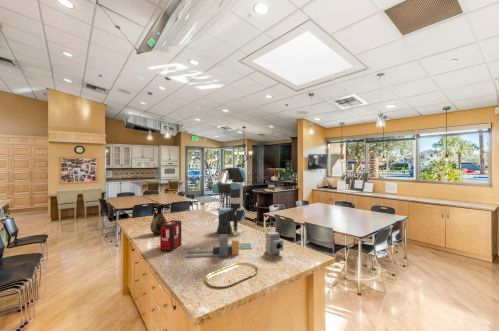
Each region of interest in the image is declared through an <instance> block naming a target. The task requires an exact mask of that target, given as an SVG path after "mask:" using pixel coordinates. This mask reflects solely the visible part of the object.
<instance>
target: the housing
mask: <svg viewBox="0 0 499 331" xmlns="http://www.w3.org/2000/svg"><path fill="white" fill-rule="evenodd" d="M228 236H229V234H219V240H218V241H219V243H218V247H219V254H213V249H204V250H201V249H200V250H199V249H198V250H195V249H194V250H188V251H187V254H186V255H185V258H208V257H209V258H210V257H212V258H213V257H219V258H220V259H227V258H229V257H228V256H229V254H228V244H229V237H228ZM203 253H204V254H203Z"/></svg>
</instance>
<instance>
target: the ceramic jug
mask: <svg viewBox="0 0 499 331" xmlns="http://www.w3.org/2000/svg"><path fill="white" fill-rule="evenodd" d="M156 206H157V207H156ZM155 207H156V208H155ZM151 208H152V212H153V217H152V219H151V222H150V225H149V226H150V230H151V232H152V234H153V235H154V236H160V225H162V224H165V223H167V222H168V221H167V218H166V217H165V215H164V214H163V213H162V210H164V209H166V208H167V206H165V204H163V203H162V204H161V205H160V203H158V202H155V203H153V204H152V206H151ZM155 210H156V211H157V212H156V211H155Z"/></svg>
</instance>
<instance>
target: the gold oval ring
mask: <svg viewBox="0 0 499 331" xmlns="http://www.w3.org/2000/svg"><path fill="white" fill-rule="evenodd" d="M241 266H242V267H243V266H246V267H250V268H252V269H254V273H253V274H250V275H249V276H246V277H244V278H241V279H240V280H238V281H235V282H233V283H231V284H227V285H220V286H217V285H213V284H210V282H209V280H210V278H211V277H213V276H215V275H218V274H221V273H223V272H227V271H228V270H231V269H233V268H235V267H241ZM258 271H259V268H258V266H256V265H255V264H253V263H248V262H238V263H233V264H230V265H228V266H226V267H223V268H220V269H218V270H215V271H213V272H210V273H209V274H207V275H206V276H205V279H204V280H205V283H206V284H207V285H209V286H210V287H212V288H218V289H220V288H223V289H224V288H227V287H228V288H229V287H231V286H234V285H235V284H237V283H240V282H242V281H244V280H247V279H249V278H250V277H251V278H252V277H253V276H255V275H256V274H257V272H258Z"/></svg>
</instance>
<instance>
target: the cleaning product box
mask: <svg viewBox="0 0 499 331" xmlns="http://www.w3.org/2000/svg"><path fill="white" fill-rule="evenodd" d="M159 236H160V237H159V238H160V239H159V240H160V242H159V243H160V247H159V248H160V249H159V250H160V252H162V253H172V252H174V251H175V250H177V249H178V248H179V247H181V246H182V220H169V221H167V223H165V224H162V225H160V235H159Z"/></svg>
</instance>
